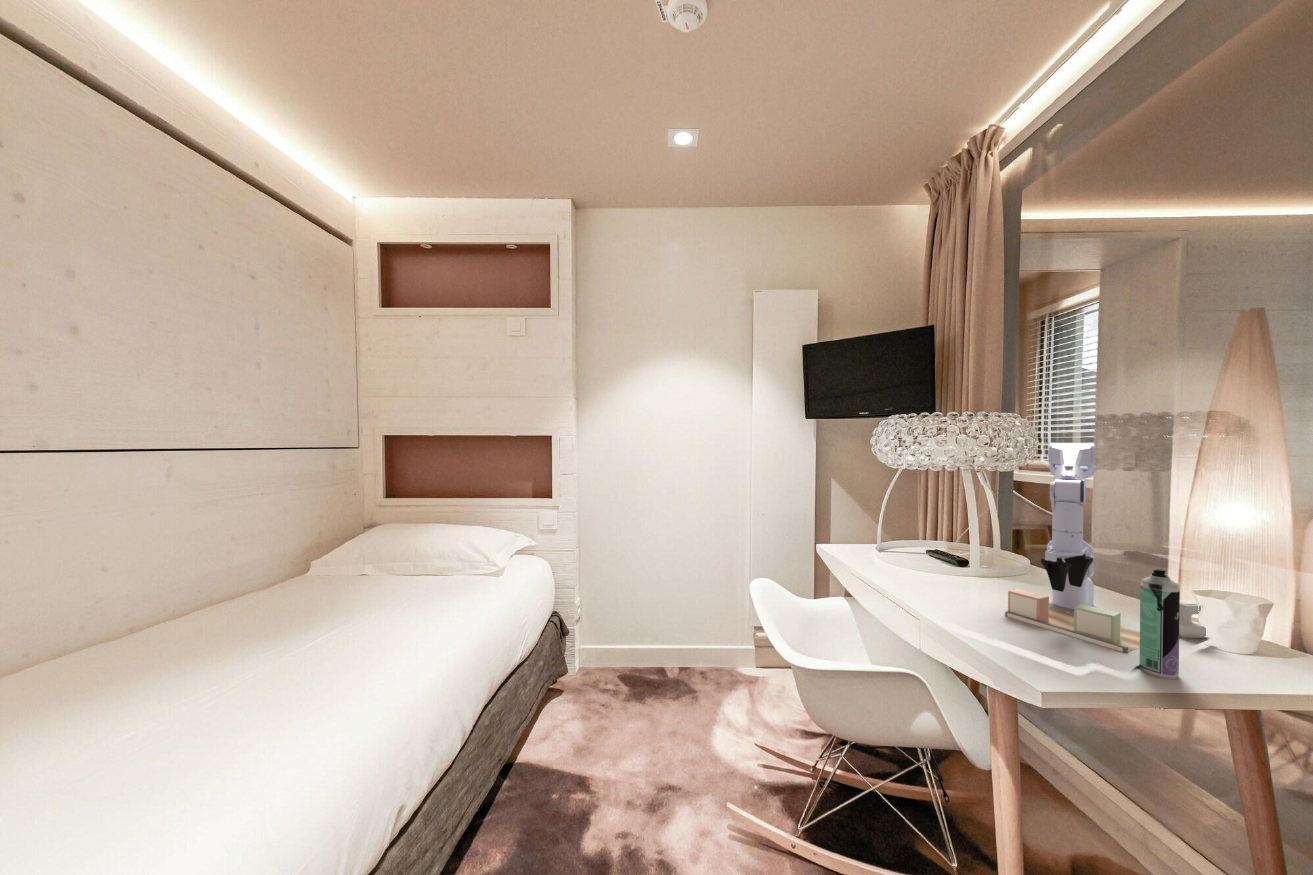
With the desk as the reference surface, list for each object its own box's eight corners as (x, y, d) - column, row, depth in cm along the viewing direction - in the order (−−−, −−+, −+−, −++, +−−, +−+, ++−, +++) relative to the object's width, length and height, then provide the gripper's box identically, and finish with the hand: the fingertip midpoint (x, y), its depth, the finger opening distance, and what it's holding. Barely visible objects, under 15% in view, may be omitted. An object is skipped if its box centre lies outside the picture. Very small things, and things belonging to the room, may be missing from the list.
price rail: (1007, 619, 129) (1007, 610, 129) (1128, 657, 107) (1128, 646, 107) (1005, 620, 129) (1005, 611, 129) (1125, 658, 107) (1125, 647, 107)
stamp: (1188, 633, 121) (1188, 597, 121) (1218, 644, 114) (1219, 606, 114) (1149, 632, 121) (1149, 596, 121) (1177, 644, 114) (1177, 606, 114)
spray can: (1182, 681, 97) (1184, 574, 97) (1143, 674, 100) (1144, 570, 100) (1173, 670, 102) (1174, 568, 101) (1136, 663, 105) (1137, 564, 104)
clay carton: (1017, 612, 131) (1018, 588, 131) (1048, 621, 125) (1048, 596, 125) (1007, 614, 129) (1008, 590, 129) (1038, 624, 123) (1038, 598, 123)
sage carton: (1080, 629, 119) (1080, 603, 119) (1120, 639, 114) (1120, 612, 114) (1073, 633, 117) (1074, 606, 117) (1113, 644, 111) (1114, 616, 111)
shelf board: (1045, 610, 136) (1045, 606, 136) (1165, 644, 114) (1165, 638, 114) (1005, 620, 129) (1005, 615, 129) (1125, 658, 107) (1125, 652, 107)
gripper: (1064, 525, 129) (1064, 579, 130) (1031, 530, 123) (1030, 587, 123) (1099, 530, 123) (1098, 587, 123) (1065, 535, 117) (1064, 596, 117)
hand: (1066, 588), depth 123 cm, fingers open, 7 cm apart
